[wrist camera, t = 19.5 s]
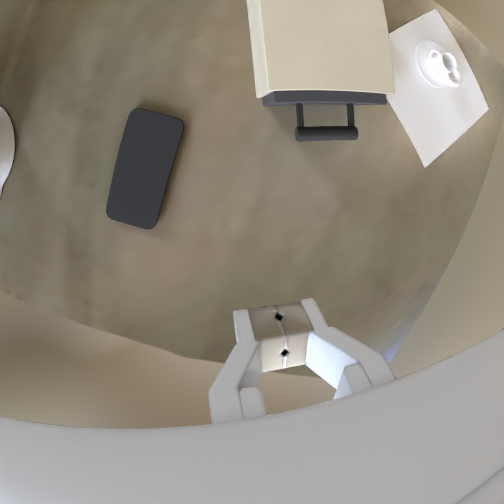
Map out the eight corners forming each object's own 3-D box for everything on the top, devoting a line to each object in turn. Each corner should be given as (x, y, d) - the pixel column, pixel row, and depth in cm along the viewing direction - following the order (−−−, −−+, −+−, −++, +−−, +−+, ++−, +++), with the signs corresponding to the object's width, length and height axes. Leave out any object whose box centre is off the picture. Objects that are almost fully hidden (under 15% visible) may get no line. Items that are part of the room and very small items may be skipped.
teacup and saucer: (460, 80, 33) (476, 80, 29) (434, 100, 35) (450, 101, 31) (433, 33, 30) (449, 30, 26) (404, 51, 31) (420, 47, 28)
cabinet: (357, 96, 34) (395, 94, 26) (256, 97, 34) (268, 90, 25) (345, -4, 28) (376, -28, 19) (245, -9, 27) (253, -42, 18)
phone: (186, 120, 33) (154, 231, 38) (187, 120, 34) (155, 229, 39) (131, 106, 31) (104, 217, 37) (132, 106, 32) (106, 215, 38)
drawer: (358, 136, 36) (388, 142, 29) (266, 140, 35) (277, 145, 28) (346, 7, 28) (372, -11, 21) (252, 2, 27) (260, -23, 20)
